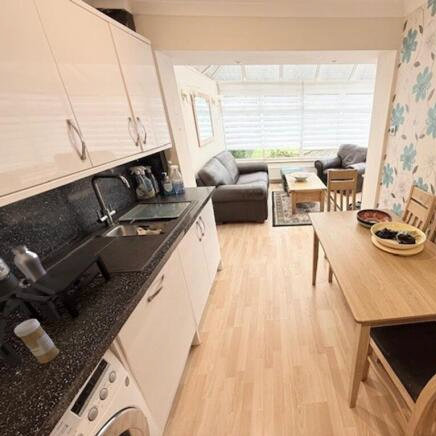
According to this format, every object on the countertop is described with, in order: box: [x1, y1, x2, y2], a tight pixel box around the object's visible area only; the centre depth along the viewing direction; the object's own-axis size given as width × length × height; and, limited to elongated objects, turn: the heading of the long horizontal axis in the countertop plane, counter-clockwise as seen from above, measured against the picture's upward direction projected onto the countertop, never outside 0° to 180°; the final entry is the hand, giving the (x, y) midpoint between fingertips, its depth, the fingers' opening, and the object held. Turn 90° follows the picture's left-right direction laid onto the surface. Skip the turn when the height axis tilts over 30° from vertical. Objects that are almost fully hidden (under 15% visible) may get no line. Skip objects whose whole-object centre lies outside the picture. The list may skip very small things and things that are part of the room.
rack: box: [19, 254, 112, 323], centre depth 91 cm, size 14×22×12 cm, turn 8°
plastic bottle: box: [11, 244, 47, 282], centre depth 96 cm, size 6×7×20 cm
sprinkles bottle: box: [13, 318, 60, 364], centre depth 68 cm, size 5×5×14 cm
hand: (36, 339), depth 67 cm, fingers open, 13 cm apart
